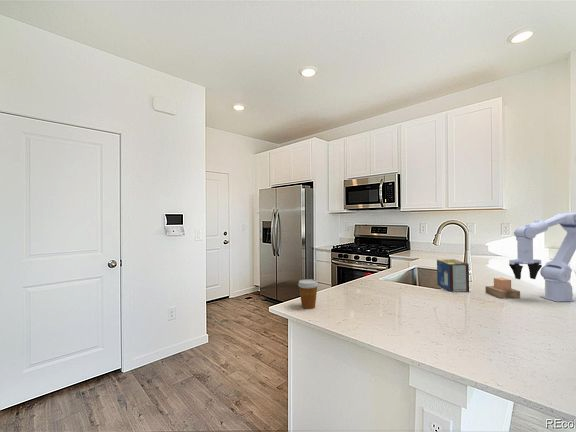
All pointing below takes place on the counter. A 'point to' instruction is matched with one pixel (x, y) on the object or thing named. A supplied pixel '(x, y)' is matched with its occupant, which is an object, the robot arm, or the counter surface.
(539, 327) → the counter surface
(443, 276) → the protein box
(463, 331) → the counter surface
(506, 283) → the terracotta block
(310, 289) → the disposable coffee cup
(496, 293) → the walnut base
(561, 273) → the robot arm
